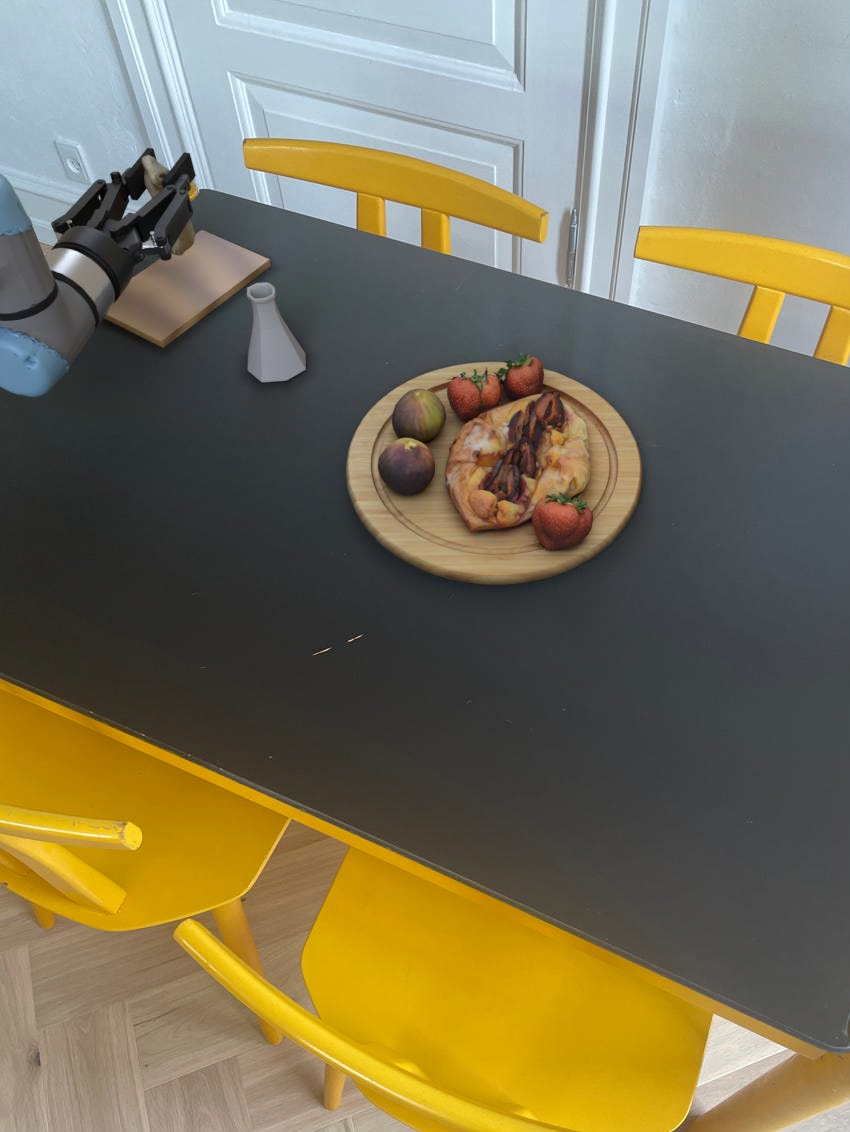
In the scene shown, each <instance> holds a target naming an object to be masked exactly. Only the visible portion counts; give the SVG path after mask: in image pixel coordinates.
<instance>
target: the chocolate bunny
mask: <svg viewBox="0 0 850 1132" xmlns="http://www.w3.org/2000/svg"><path fill="white" fill-rule="evenodd" d="M156 159H157V158H156ZM156 159H155V158H154V157H152V156H150V155H147V156H144V157H143V158H142V164H143V166H144V169H145V175H144V181H145V185H146V188H147V189H146V191H147V192H148V194H149V195H150V198H151V199H152V198H153V197H154V196H155V195H156V194H158V193H159V192H160V191H161V190H162V189H163V186H162V180H163V179H164V178H165V176H166V175H167V174H168V173H169V171H170V170H171V169H169V168H167V167H166V166H164V165H163V164H162V163H160V162H159V161H158V159H157V160H156ZM193 226H194V225H193V222H192V219H191V218H190V220H189V221H188V223H187V225H186V226H185V228H184V229H183V231H182V233H181V234H180V236H179V237H178V239H177V241H176V242H175V244H174V246H173V247H172V254H174V255H178V256H181V255H183V254H184V252H185V251H186V250H188V249H189V248H190V247H191V246H192V245H193V244H194V239H195V234H196V233H195V229H194V227H193Z"/></svg>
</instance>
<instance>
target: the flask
mask: <svg viewBox="0 0 850 1132" xmlns="http://www.w3.org/2000/svg"><path fill="white" fill-rule="evenodd" d="M246 296H247V299H248V300H249V301H250V303H251V307H252V318H253V319H252V320H253V321H252V327H251V336H250V341H249V347H248V352H247V372H249V373H250V374H251V375H252V376H253V377H255V378H256V379H257V380H258V381H260V382H261V383H271V382H274V383H275V382H284V381H289V380H290V379H292V378H293V377H296V376H297V375H299V374H301V373H302V372H304V371H306V370H307V368H306V367H307V362H306V356H307V355H306V354H307V353H306V352H305V350H304V349H303V347H302V346H301V345H300V343H299V342H298V340H297V339H296V336H294V335H293V333H292V331H291V330H290V328H289V326H288V325H287V323H286V322H285V320H284V319H283V317H282V315H281V313H280V310H279V308H278V306H277V303H276V287H275V286H273V285H272V284H271V283H270V282H267V281H266V282H256V283H254V284H252V285H250V286H248V287H246Z"/></svg>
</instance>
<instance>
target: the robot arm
mask: <svg viewBox="0 0 850 1132" xmlns="http://www.w3.org/2000/svg"><path fill="white" fill-rule="evenodd" d="M147 155H150V156H152V157H154V158H155V159H156V160H157V161H158V159H157V155H156V152H155V149H154V148H153V147H147V148H146V149H145V150H144V151H143V152H142V154H141V155H140V156H139V157H138V159H137V160H136V161H135V163H134V164H133V165H132V166H131V167H128V168H126V169H125V171H124V172H123V173H122V174H121V172H120V171H112V172H110V173H109V177H110V179H111V182H106V179H103V178H99V179H97V180H95V181H94V182H93V183H92V184H91V185H90V187H88V189H86V191H85V192H84V193H83V194H82V195H81V196H80V197H79V198H78V199H77V201H76V202H75V203H74V204H73V205H72V206H71V207H70V208H69V209H68V210H67V211H66V212H65V214H63V215H61V216H59V217H58V218H56V219H54V220H53V221H51V223H50V226H51V228H52V231H53V232H54V235H55V237H56V239H57V241H56V243H55V244H54V245H53V246H52V247H51V249H50V250H49V251H48V252H47V253H46V254H45V253H44V250H43V249H42V247H41V243H40V241H39V239H38V236H37V233H36V231H35V229H34V227H33V223H32V220H31V217H30V216H29V215H28V213H27V211H26V210H25V207H24V206H23V203H22V202H21V199H20V197H19V195H18V194H17V193H16V190H15V189H14V187H13V185H12V183H11V182H10V181H9V179H8V178H7V177H6V176H5V175H4V174H2V173H0V388H2V389H3V390H5V391H7V392H10V394H11V393H12V394H14V395H17V396H25V397H29V398H37V397H38V398H39V397H43V396H45V395H47V394H48V393H49V392H51V390H52V389H53V388H54V387H55V386H56V385H57V384H58V382H59V381H60V380H61V379H62V378H63V377H64V376H65V375H67V374H68V372H69V371H70V367H71V366H72V365H73V363H74V361H75V360H76V358H77V357H78V356H79V354H80V352H81V351H82V350H83V349H84V347H85V345H86V344H87V342H88V341H89V340H90V339H91V337H92V335H93V334H94V333H95V331H96V330H97V328H98V327H99V326H100V325H101V323H102V321H103V320H105V319H104V317H105V316H106V314H107V313H108V312H109V310H110V309H111V307H112V306H113V304H114V303H115V302H116V301H117V300H118V298H119V297H120V295H121V294H122V293H123V291H124V290H125V288H126V287H127V286H128V284H129V282H130V280H131V278H132V276H133V272H134V268H135V267H136V266H137V265H138V264H140V263H142V262H144V261H145V259H146V256H153V255H154V256H155V255H159V259H160V258H161V260H163V261H167V260H170V259H171V258H172V247H173V246H174V244H175V242H176V241H177V239H178V237H179V236H180V234H181V233H182V231H183V229H184V228H185V226H186V225H187V223H188V221H189V220H190V219H191V218H192V217H193V215H194V214H195V213H194V209H193V205H192V201H191V198H190V194H189V192H190V191H191V189H192V185H191V183H192V182H193V180H195V178H196V176H197V175H196V171H195V167H194V164H193V160H192V155H191V153H190V152H182V154H181V155H180V156H179V158H178V159H177V161H176V162H175V163H174V165H173V166H172V167H171V169H169V170H170V171H169V173H168V174H167V175H166V176H165V178H164V179H163V180H162V186H163V189H162V190H161V191H160V192H159V193H158V194H156V195H155V196H154V197H153V198H152V197H151V198H150V199H149V200H148V201H147V202H145V204H144V205H143V206H141V207H140V208H139V209H138V210H137V211H135V212H134V213H133V212H128V213H127V214H125V212H126V210H127V207H128V205H129V203H130V200H131V201H139V199H140V198H141V197H142V195H143V194H144V193H145V191H147V188H146V185H145V181H144V175H145V169H144V166H143V164H142V158H143V157H144V156H147ZM129 197H130V198H129Z"/></svg>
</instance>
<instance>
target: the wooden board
mask: <svg viewBox="0 0 850 1132" xmlns="http://www.w3.org/2000/svg"><path fill="white" fill-rule="evenodd" d="M270 267H272V263H271V259H270V258H267V257H266V256H263V255H260V254H258V253H256V252H254V251H252V250H249V249H247V248H245V247H243V246H241V245H238V244H237V243H233V242H231V241H229V240H227V239H225V238H222V237H220V236H217V235H215V234H214V233H211V232H208V231H207V230H205V229H201V230H199V231H198V232H196V233H195V239H194V244H193V245H192V246H191V247H190V248H189V249H188V250H186V251H185V252H184V254H183V255H181V256H178V255H174V254H172V258H171V259H170V260H167V261H163V260H161V258H160V257H159V259H157V260H156V261H154V262H153V263H152V264H150V265H149V266H148V267H146V268H145V269H143V270H141V271H140V272H139V273H137V274H136V275H134V276H133V277H131V280H130V282H129V284H128V286H127V287H126V288H125V290H124V291H123V293H122V294H121V295H120V297H119V298H118V300H117V301H116V302H115V303H114V304H113V306H112V307H111V309H110V310H109V312H108V313H107V314H106V316H105V317H104V319H103V320H107V321H108V322H110V323H112V324H114V325H116V326H119V327H120V328H122V329H124V330H126V331H128V332H130V333H132V334H135V335H136V336H139V337H140V338H142V339H144V340H146V341H149V342H150V343H152V344H154V345H156V346H158V347H160V348H165V347H167V346H168V345H170V344H171V343H172V342H173V341H175V340H176V339H177V338H178V337H180V336H181V335H182V334H184V333H185V332H187V331H188V330H189V329H190V328H191V327H193V326H194V325H196V324H197V323H199V321H201V320H202V319H204V318H205V317H206V316H208V315H209V314H210V313H211V312H212V311H214V310H215V309H217V308H218V307H219V306H221V305H222V304H223V303H225V302H226V301H227V300H228V299H230V298H231V297H232V296H234V295H235V294H236V293H238V292H239V291H241V290H242V289H243V288H245V286H247V285H248V284H249V283H251V282H252V281H254V280H255V279H256V278H258V277H259V276H260V275H261V274H263V273H264V272H266V270H268V269H269V268H270Z"/></svg>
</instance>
